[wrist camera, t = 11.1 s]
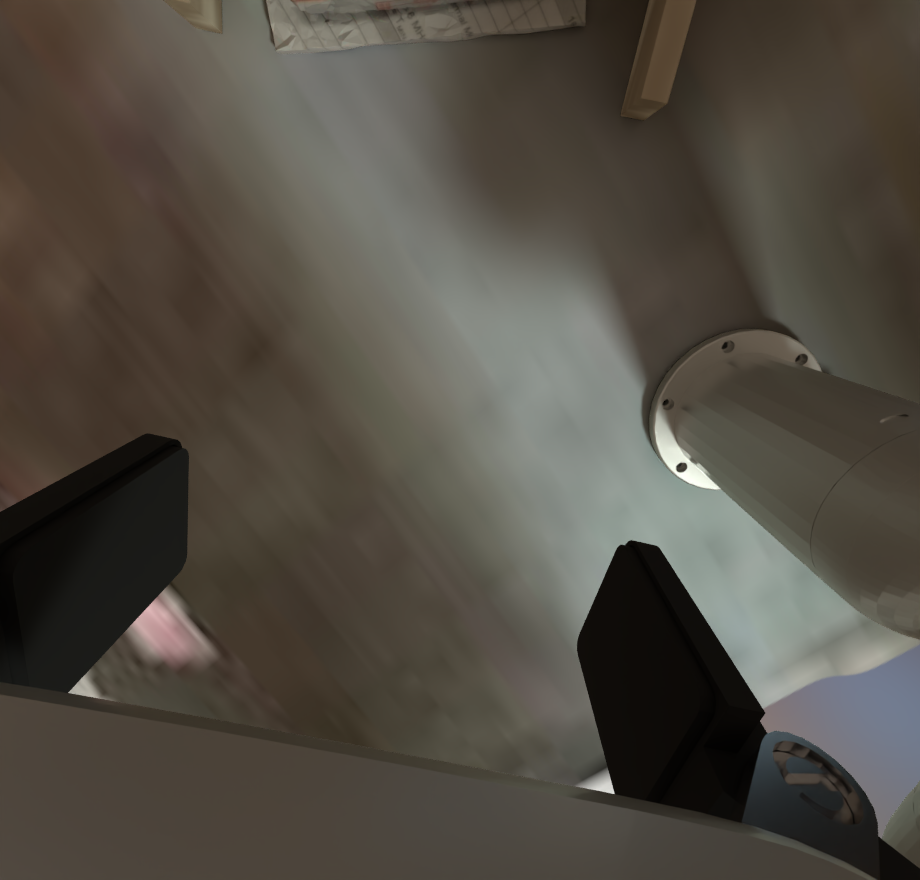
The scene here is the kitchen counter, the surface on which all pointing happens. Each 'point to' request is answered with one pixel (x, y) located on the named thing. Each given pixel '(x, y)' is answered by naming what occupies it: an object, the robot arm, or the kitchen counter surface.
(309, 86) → the kitchen counter surface
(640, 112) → the wooden frame
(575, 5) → the packaged product
